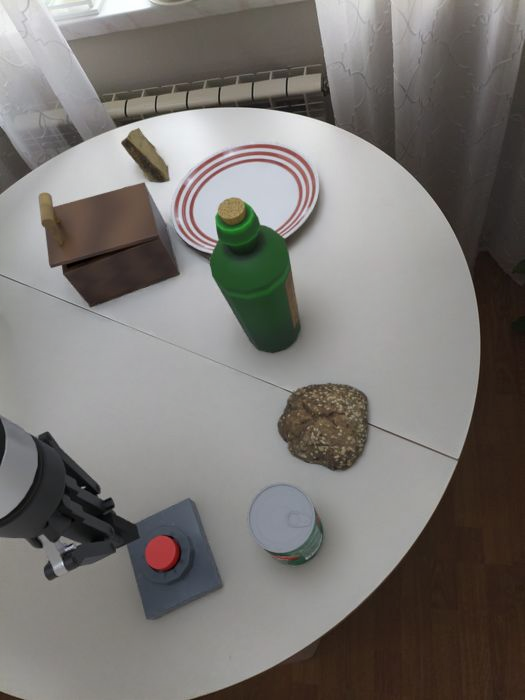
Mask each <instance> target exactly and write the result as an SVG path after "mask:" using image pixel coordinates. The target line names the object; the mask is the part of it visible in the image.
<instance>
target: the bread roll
mask: <svg viewBox="0 0 525 700" xmlns="http://www.w3.org/2000/svg"><path fill="white" fill-rule="evenodd" d="M368 406H369V405H368V397H367V395H366V394H365V393H364V392H363V391H362V390H360V389H358V388H356V387H354V386H351V385H349V384H344V383H343V384H342V383H331V382H327V383H323V384H322V383H320V384H319V383H318V384H315V383H314V384H310V385H309V384H308V385H307V386H302V387H299V388H297V389H296V390H293V391H292V392H291V394H290V395H289V397H288V398H287V400H286V404H285V407H284V409H283V413H282V414H281V415H280V416H279V418H278V420H277V423H276V424H277V429H278V430H277V431H278V434H279V436H280V437H281V438H282V440H283V441H284V442H286V443H287V444H288V445H287V449H288V451H289V452H290V454H291V455H293V456H295V458H298V459H301V460H303V461H304V462H306V463H310V464H320V465H322V466H325V467H327V468H328V469H329V470H331V471H335V470H338V469H340V470H344V469H346V468H349V467H351V466H352V465H353V464H354V463H355V462H356V461H357V458H358V457H359V455H361V453H362V452H363V451H362V450H363V448H364V447H365V444H366V442H367V437H368V428H369V427H368V425H369V424H368V423H369V421H368V420H369V419H368V418H369V413H368V412H369V408H368Z"/></svg>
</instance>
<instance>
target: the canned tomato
mask: <svg viewBox="0 0 525 700" xmlns="http://www.w3.org/2000/svg"><path fill="white" fill-rule="evenodd" d="M246 516H247V517H246V521H247V529H248V531H249V534H250V536H251V537H252V539H253V540H254V542H255V543H256V544H257V545H258V546H259V547H260V548H261V549H263V550H264V551H265V552H266V553H268V554H269V555H270V556H271V557H272V559H274V560H275V561H277V562H278V563H280V564H282V565H284V566H288V567H300V566H304V565H306V564H308V563H310V562H312V561H313V560H314V559H315V558H316V557H317V556H318V555H319V553H320V552H321V550H322V549H323V545H324V540H325V528H324V525H323V522H322V520H321V518H320V516H319V515H318V512H317V510H316V508H315V506H314V504H313V501H312V499H311V498H310V496H309V495H308V494H307V492H306V491H305V490H304V489H302V488H301V487H299V486H297V485H296V484H293V483H289V482H275V483H270V484H269V485H267V486H264V487H263V488H262V489H260V490H259V491H258V492H257V493H256V494H255V495H254V497H253V498H252V500H251V501H250V504H249V506H248V509H247V515H246Z"/></svg>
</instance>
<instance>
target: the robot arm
mask: <svg viewBox="0 0 525 700" xmlns="http://www.w3.org/2000/svg"><path fill="white" fill-rule="evenodd" d="M101 493H102V488H101V486H100V485H99V483H98V482H97V481H96V480H95V479H94V478H93V477H91V476H90V474H89V473H87V472H86V471H85V470H84V468H82V467H81V466H80V465H79V464H78V463H77V461H75V460H74V459H73V458H72V457H71V456H70V455H69V454H67V452H65V451H64V450H63V448H61V446H60V445H59V444H58V442H57V441H56V439H55V438H54V436H53V435H52V434H51V433H50V432H49V431H44V432H42V433H40V434H38V435H36V436H35V435H33V434H31V433H29V432H28V431H27V430H25V429H24V428H23V427H22V426H20V425H18V424H17V423H15V422H13V421H12V420H10V419H9V418H7V417H5V416H3V415H2V414H0V538H4V539H24V540H25V541H27V542H28V544H29V545H30V546H31V547H33V548H35V549H38V550H42V549H43V551H44V553H45V554H46V558H45V559H46V564H45V566H44V567H43V574H44V577H45V578H46V580H48V581H53V580H55V579H57V578H59V577H61V576H64V575H65V574H68V573H70V572H71V571H73V570H75V569H78V568H79V567H83V566H89V565H93V564H94V563H97V562H99V561H101V560H103V559H105V558H108V557H109V556H111V555H113V554H115V553H117V550H118V549H120V548H122V547H125V546H127V544H129V543H131V542H133V541H135V540H137V539H139V538H140V536H139V532H138V529H137V525H135V523H133V522H131V521H129V520H128V519H125V518H124V517H122V516H120V515H118V514H117V512H115V510H114V509H116V504H115V501H114V499H113V498H112V496H109V497H107V498H105V499H102V498H100V497H99V495H100V494H101ZM62 537H63V538H65V539H68V540H71V541H74V542H71V543H69V544H67V543H66V542H63V543H62V542H61V541H60V539H61V538H62ZM75 542H76V543H78V544H79V545H77V544H76V543H75Z"/></svg>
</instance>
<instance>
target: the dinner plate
mask: <svg viewBox="0 0 525 700" xmlns="http://www.w3.org/2000/svg"><path fill="white" fill-rule="evenodd" d="M319 194H320V178H319V175H318V171H317V169H316V167H315V165H314V164H313V162H312V161H311V160H310V158H308V156H306V155H305V154H304V153H302V152H301V151H300V150H298V149H296V148H294V147H292V146H290V145H286V144H283V143H279V142H274V141H250V142H243V143H238V144H234V145H231V146H227V147H225V148H223V149H222V148H221V150H218V151H216V152H214V153H212V154H211V155H208V156H206V157H205V158H204V159H202V160H201V161H200V162H198V163H197V164H195V166H193V167H192V168H191V169H190V170H189V171H188V172H187V173H186V174H185V175H184V177H183V178H182V180H181V181H180V182H179V184H178V185H177V187H176V189H175V192H174V193H173V196H172V201H171V205H170V217H171V222H172V225H173V227H174V230H175V231H176V233H177V234H178V236H179V237H180V238H181V239H182V240H183V241H184V242H185V243H186V244H187V245H189V246H190V247H192V248H194V249H196V250H198V251H200V252H203V253H207V254H210V255H212V253H213V251H214V248H215V246H216V244H217V242H218V240H219V239H218V235H217V230H216V221H215V216H216V214H217V212H218V207H219V205H220V203H222V202H223V201H224V200H225V199H229V198H232V197H234V198H240V199H241V200H242V201H244V202H246V203H247V204H248V205H250V206H251V207H252V209H253V210H254V212H255V213H256V215H257V216H258V218H259V222H260V225H265V226H267V227H270V228H272V229H273V230H274V231H276V232H277V233H278V234H279V235H281V236H282V237H283V238H285V239H287V238H288V237H290V236H291V235H292V234H294V233H295V232H296V231H298V229H299V228H300V227H301V226H303V224H304V223H305V222H306V221H307V220H308V218H309V217H310V215H312V212H313V210H314V209H315V206H316V204H317V201H318V197H319Z"/></svg>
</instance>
